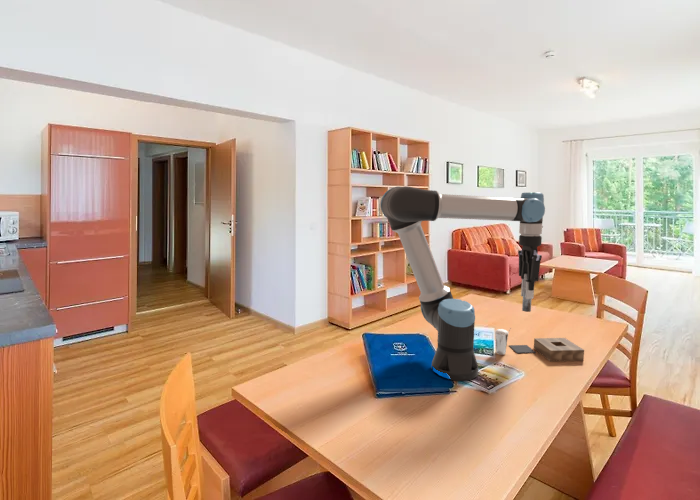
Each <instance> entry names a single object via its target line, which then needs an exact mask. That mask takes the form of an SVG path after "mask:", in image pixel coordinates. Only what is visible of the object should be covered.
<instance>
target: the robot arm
mask: <svg viewBox="0 0 700 500" xmlns="http://www.w3.org/2000/svg"><path fill="white" fill-rule="evenodd" d="M379 207H380V210H381V212H382V214H383V216H384V217H385V218H386V220H388V223H389V227H390V228H391V231H392V232H394V233H397V235H398V237H399V239H400V243H401V245H402V248H403V250H404V254H405V256H406V258H407V261H408V263H409V266H410V268H411V271H412V273H413V276H414V278H415V281H416V284H417V286H418V289H419V291H420V294H419V296H418V300H419V304H420V311H421V315H422V316H423V318H424V320H425V321H426V322H427V323H428V324H430V325H432V326H433V328H434V329H435V330H436V331H437V347H436V350H435V353H434V356H433V358H432V361H431V367H432V366H433V367H434V368H435V369H436V370H438V371H440V372H443V373H447V374H448V375H449V376H450V378H451V380H450V381H456V382H457V381H458V382H460V381H461V382H463V381H464V382H465V381H470V380H473V379H475V378H477V377H478V375H479V366H478V361H477V358H476V355H475V351H474V344H475V343H474V342H475V323H476V322H475V321H476V315H475V314H476V313H475V308H474V306H473V305H472V304H471V303H470V302H469V301H466V300H462V299H459V298H454V297H453V294H452V292H451V289H450V287H449V286H448V285H445V284H444V283H443V279H442V277H441V274H440V272H439V269H438V267H437V264H436V262H435V259H434V256H433V253H432V251H431V248H430V245H429V242H428V239H427V237H426V235H425V232H424V228H423V227H422V222H427V221H428V222H435V221H437V220H438V219H455V220H456V219H457V220H478V221H479V220H483V221H486V220H487V221H505V222H506V221H507V222H508V221H509V222H519V230H518V231H519V232H518V233H519V236H518V245H519V246H522V248H521V249H520V250H518V251H517V254H518V276H519V277H520V278H521V287H520V288H521V289H520V290H521V291H520V296H521V297H523V284H524V274H525V273H528V280H526V294H525V298H526V299H531V300H532V299H534V294H535V293H534V292H535V282H538V281H539V277H540V270H541V269H540V268H541V261H542V258H543V257H542V255H543V254H538V253H539V251H538V247H541V246H542V239H543V237H542V232H543V227H544V226H543V221H544V220H543V218H544V215H545V212H546V206H545V198H544V194H543V192H537V191H536V192H522V193H521V195H520V197H504V196H485V195H465V194H448V193H447V194H446V193H445V194H442V193H439V191H437V190H429V189H422V188H419V187H413V186H395V187H391V188H390V189H388V190H387V191H386V192H385V193H384V194H383V195H382V196H381V200H380V206H379Z"/></svg>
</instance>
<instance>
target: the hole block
mask: <svg viewBox="0 0 700 500" xmlns="http://www.w3.org/2000/svg"><path fill="white" fill-rule="evenodd" d="M533 350H534V351H535V352H537V353H539V354H540V355H541V356H543V357H544V358H545V359H547V360H548V361H549V362H582V361H583V362H584V358H585V349H584V348H582V347H580V345H578V344H575V343H574V342H572V341H571V340H569V339H567V338H566V337H539V338H538V337H535V338H534V340H533Z"/></svg>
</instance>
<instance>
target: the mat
mask: <svg viewBox="0 0 700 500" xmlns="http://www.w3.org/2000/svg"><path fill="white" fill-rule="evenodd" d="M508 347H509V348H510V349H512V350H513V351H514V352H515V353H516V354H536V352H537V351H536V350H535V349H532V348H531V347H530V346H529V345H527V344H512V345H510V344H509V345H508Z"/></svg>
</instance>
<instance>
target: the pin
mask: <svg viewBox="0 0 700 500" xmlns="http://www.w3.org/2000/svg"><path fill="white" fill-rule="evenodd" d="M526 280H528V273H525V274H524V284H523V296H522V306H521V311H522V312H529V313H531V311H532V299H526V298H525V294H526Z"/></svg>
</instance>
